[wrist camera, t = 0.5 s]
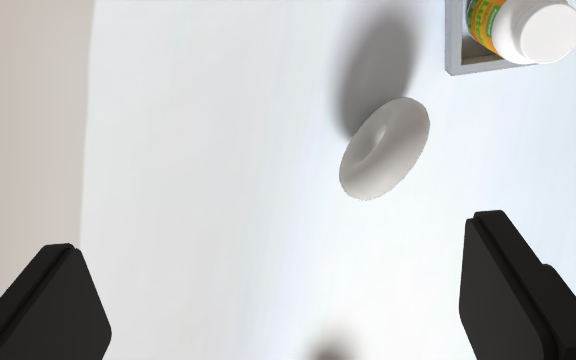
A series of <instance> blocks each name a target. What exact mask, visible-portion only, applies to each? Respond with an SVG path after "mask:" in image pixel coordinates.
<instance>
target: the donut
mask: <svg viewBox="0 0 576 360" xmlns="http://www.w3.org/2000/svg"><path fill="white" fill-rule="evenodd" d="M429 128H430V121H429V117H428V113H427V111H426V108H425V107H424V106H423V105H422V104H421V103H419V102H417V101H416V100H414V99H412V98H408V97H403V98H398V99H393V100H391V101H389V102H387V103H385V104H384V105H382V106H381V107H379V108H378V109H377V110H376V111H375V112H373V113H372V114H371V115H370V116H369V117H368V119H367V120H366V121H365V122H364V123H363V124H362V125H361V127H360V128H359V129H358V131H357V132H356V133H355V135H354V137H353V138H352V140H351V141H350V143H349V145H348V147H347V149H346V151H345V153H344V155H343V158H342V161H341V165H340V170H339V180H340V183H341V185H342V187H343V189H344V191H345V192H346V193H347V194H348V195H349V196H351V197H353V198H356V199H359V200H365V201H367V200H370V199H374V198H378V197H381V196H382V195H384V194H385V193H387V192H389V191H390V190H392V189H393V188H394V187H395V186H396V185H397V184H398V183H399V182H400V181H401V180H402V179H404V177H405V176H406V175H407V174H408V172H409V171H410V170H411V169H412V168H413V166H414V165H415V163H416V161H417V160H418V158H419V156H420V155H421V153H422V151H423V149H424V146H425V144H426V141H427V139H428V134H429Z"/></svg>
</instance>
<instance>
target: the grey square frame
mask: <svg viewBox="0 0 576 360" xmlns="http://www.w3.org/2000/svg"><path fill="white" fill-rule="evenodd" d="M462 4H463V0H446V17H445V70H446V71H447V72H448V73H449V74H450V75H451V76H455V75H462V74H470V73H477V72H484V71H492V70H499V69H506V68H514V67H521V66H528V65H535V64H539V63H532V64H517V63H513V62H510V61H508V60H506V59H504V58H503V57H501V56H499V55H498V54H494V55H487V56H480V57H473V58H466V59H461V47H462Z"/></svg>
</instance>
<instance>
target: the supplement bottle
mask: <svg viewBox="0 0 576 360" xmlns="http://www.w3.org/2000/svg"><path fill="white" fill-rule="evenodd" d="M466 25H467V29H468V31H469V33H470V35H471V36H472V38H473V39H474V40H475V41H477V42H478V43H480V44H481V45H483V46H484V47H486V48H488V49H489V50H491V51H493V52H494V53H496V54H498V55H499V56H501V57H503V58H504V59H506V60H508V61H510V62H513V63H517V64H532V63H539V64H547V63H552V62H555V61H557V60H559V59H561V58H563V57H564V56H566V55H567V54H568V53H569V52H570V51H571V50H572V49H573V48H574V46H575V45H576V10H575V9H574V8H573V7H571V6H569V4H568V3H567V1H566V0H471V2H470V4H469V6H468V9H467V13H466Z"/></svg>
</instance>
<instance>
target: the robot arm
mask: <svg viewBox="0 0 576 360" xmlns="http://www.w3.org/2000/svg"><path fill="white" fill-rule="evenodd" d="M459 314H460V318H461V322H462V324H463V327H464V329H465V331H466V334H467V336H468V339H469V341H470V343H471V346H472V348H473V351H474V353H475V356H476V358H477V360H576V296H575V295H574V294H573V292H572V291H571V290H570V288H569V287H568V286H567V284H566V283H565V282H564V281H563V279H562V278H561V277H560V275H559V274H558V273H557V271H556V270H555V269H554V268H553V267H552V266H551V265H548V264H542V263H541V262H540V260H539V259H538V258H537V256H536V255H535V253H534V252H533V251H532V249H531V248H530V247H529V245H528V244H527V243H526V241H525V240H524V238H523V237H522V236H521V234H520V233H519V232H518V230H517V229H516V228H515V226H514V225H513V224H512V222H511V221H510V219H509V218H508V217H507V215H506V214H505V213H504V212H503V211H502V210H493V211H480V212H476V213H475V214H474V216H473V218H470V219H467V220H466V224H465V236H464V248H463V261H462V273H461V285H460V297H459ZM111 335H112V332H111V327H110V324H109V321H108V319H107V316H106V314H105V311H104V309H103V306H102V303H101V301H100V298H99V296H98V293H97V291H96V288H95V285H94V283H93V280H92V278H91V275H90V273H89V270H88V268H87V265H86V262H85V260H84V257H83V255H82V253H81V251H80V250H79V249H77V248H76V249H75V248H74V246H73V245H72V244H69V243H65V244H52V245H45V246H44V247H43V248H41V250H40V251H39V252H38V253H37V254H36V256H35V257H34V258H33V259H32V260H31V262H30V263H29V264H28V265H27V266H26V268H25V269H24V270H23V271H22V272H21V274H20V275H19V276H18V277H17V278H16V280H15V281H14V282H13V283H12V284H11V286H10V287H9V288H8V289H7V290H6V292H5V293H4V294H3V295H2V296H1V297H0V360H102V358H103V356H104V354H105V352H106V350H107V348H108V346H109V344H110V341H111Z"/></svg>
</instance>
